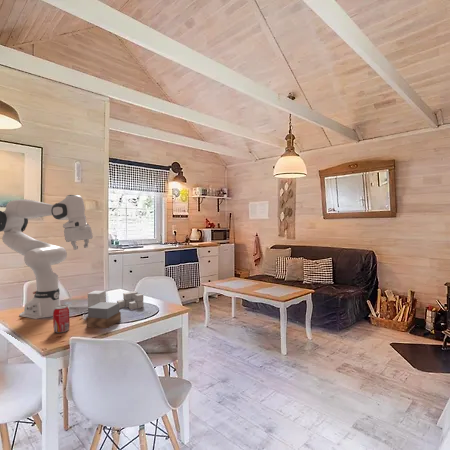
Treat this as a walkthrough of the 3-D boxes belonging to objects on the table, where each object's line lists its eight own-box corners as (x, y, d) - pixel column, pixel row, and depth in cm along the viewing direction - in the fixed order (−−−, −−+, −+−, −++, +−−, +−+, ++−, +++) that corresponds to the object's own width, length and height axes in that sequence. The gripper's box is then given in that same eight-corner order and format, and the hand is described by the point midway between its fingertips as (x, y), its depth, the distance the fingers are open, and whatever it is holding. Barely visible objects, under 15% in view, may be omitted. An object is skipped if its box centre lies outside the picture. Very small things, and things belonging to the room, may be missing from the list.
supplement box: (106, 312, 185) (106, 290, 184) (99, 316, 177) (99, 293, 177) (95, 311, 186) (94, 290, 185) (87, 315, 179) (87, 293, 178)
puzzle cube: (117, 307, 195) (116, 294, 195) (135, 303, 203) (135, 291, 203) (124, 311, 186) (124, 298, 186) (143, 307, 194) (143, 294, 193)
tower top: (88, 317, 160) (87, 307, 160) (101, 311, 171) (101, 301, 171) (107, 318, 158) (107, 308, 158) (119, 312, 169) (119, 302, 168)
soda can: (57, 328, 158) (56, 305, 157) (72, 328, 158) (71, 304, 158) (50, 334, 151) (50, 309, 150) (66, 333, 151) (65, 308, 151)
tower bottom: (86, 327, 160) (86, 317, 160) (101, 319, 172) (100, 310, 172) (107, 328, 158) (107, 319, 157) (120, 321, 169) (120, 311, 169)
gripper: (83, 223, 184) (86, 247, 185) (60, 225, 164) (64, 251, 164) (93, 222, 183) (96, 246, 184) (71, 223, 163) (75, 250, 163)
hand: (81, 248), depth 174 cm, fingers open, 8 cm apart
